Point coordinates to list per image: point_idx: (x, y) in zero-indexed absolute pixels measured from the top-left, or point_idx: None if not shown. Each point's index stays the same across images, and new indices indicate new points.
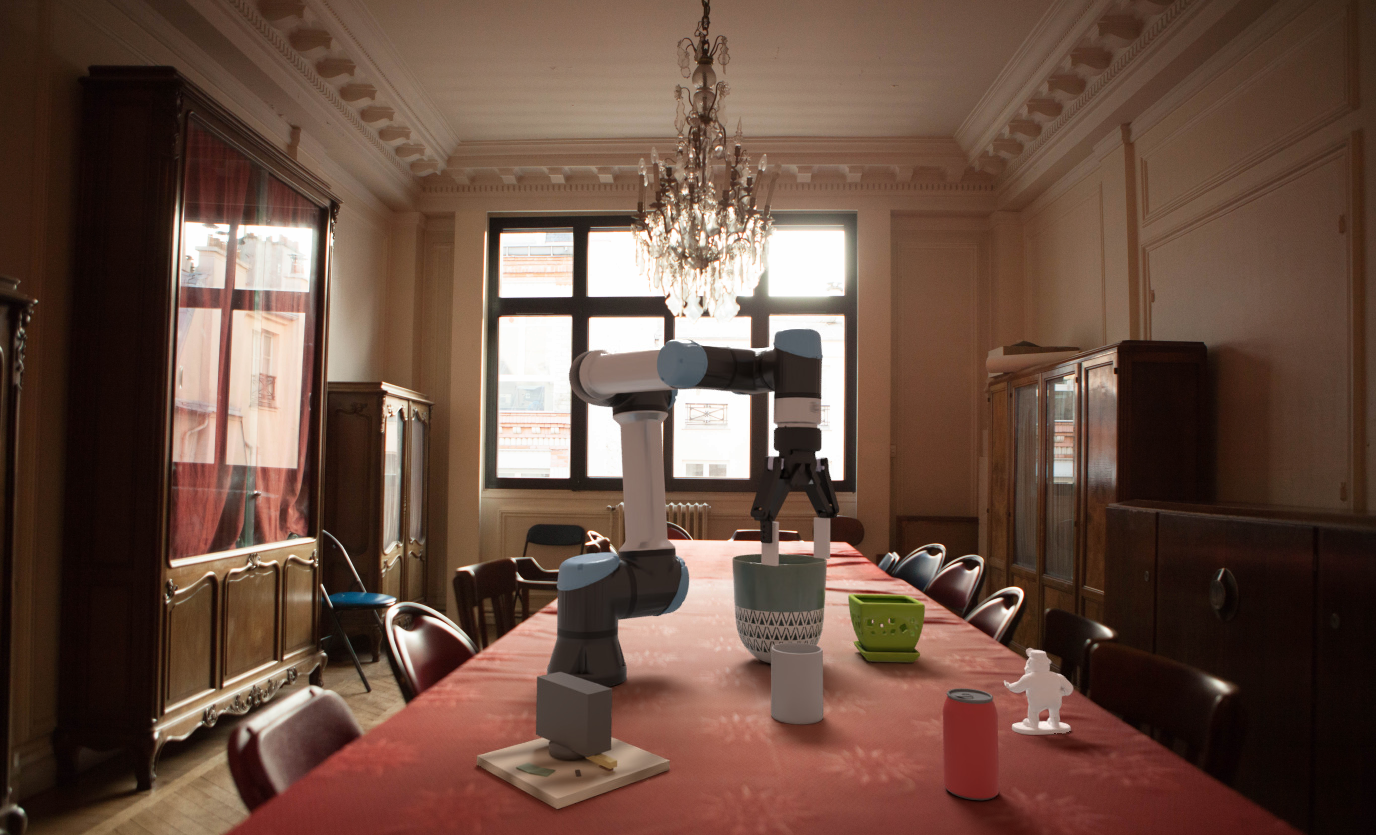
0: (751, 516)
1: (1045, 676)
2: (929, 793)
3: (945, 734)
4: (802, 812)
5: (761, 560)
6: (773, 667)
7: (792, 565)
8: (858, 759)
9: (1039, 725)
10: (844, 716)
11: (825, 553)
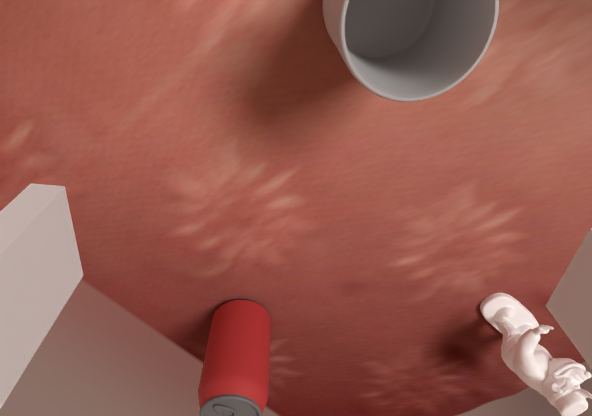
0: None
1: (534, 387)
2: (204, 292)
3: (210, 355)
4: None
5: (17, 196)
6: None
7: None
8: (242, 195)
9: (510, 320)
10: None
11: (568, 318)
